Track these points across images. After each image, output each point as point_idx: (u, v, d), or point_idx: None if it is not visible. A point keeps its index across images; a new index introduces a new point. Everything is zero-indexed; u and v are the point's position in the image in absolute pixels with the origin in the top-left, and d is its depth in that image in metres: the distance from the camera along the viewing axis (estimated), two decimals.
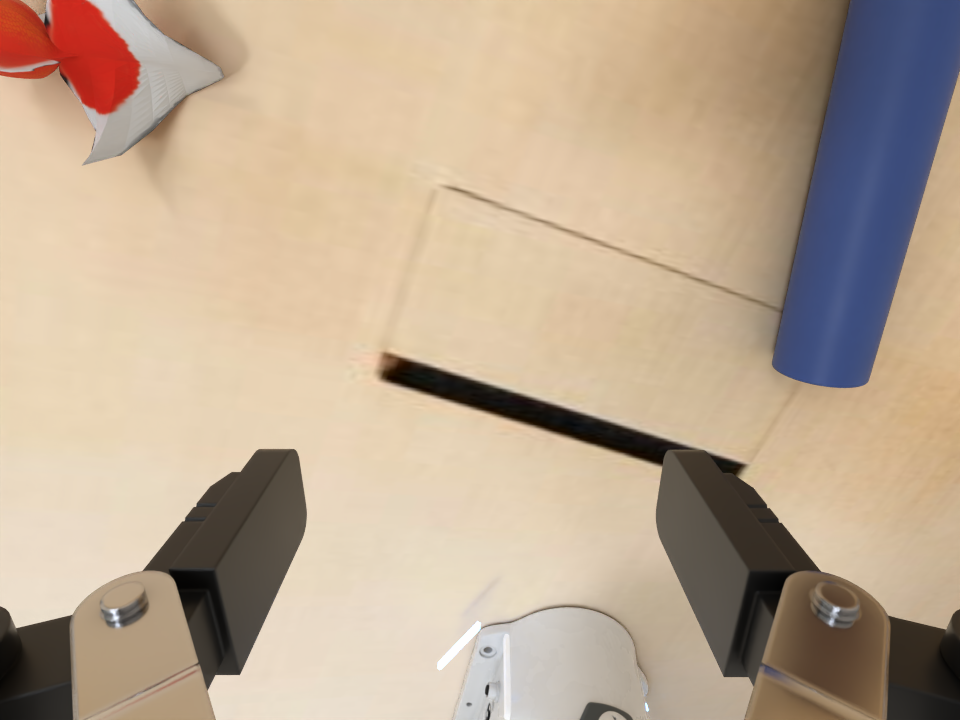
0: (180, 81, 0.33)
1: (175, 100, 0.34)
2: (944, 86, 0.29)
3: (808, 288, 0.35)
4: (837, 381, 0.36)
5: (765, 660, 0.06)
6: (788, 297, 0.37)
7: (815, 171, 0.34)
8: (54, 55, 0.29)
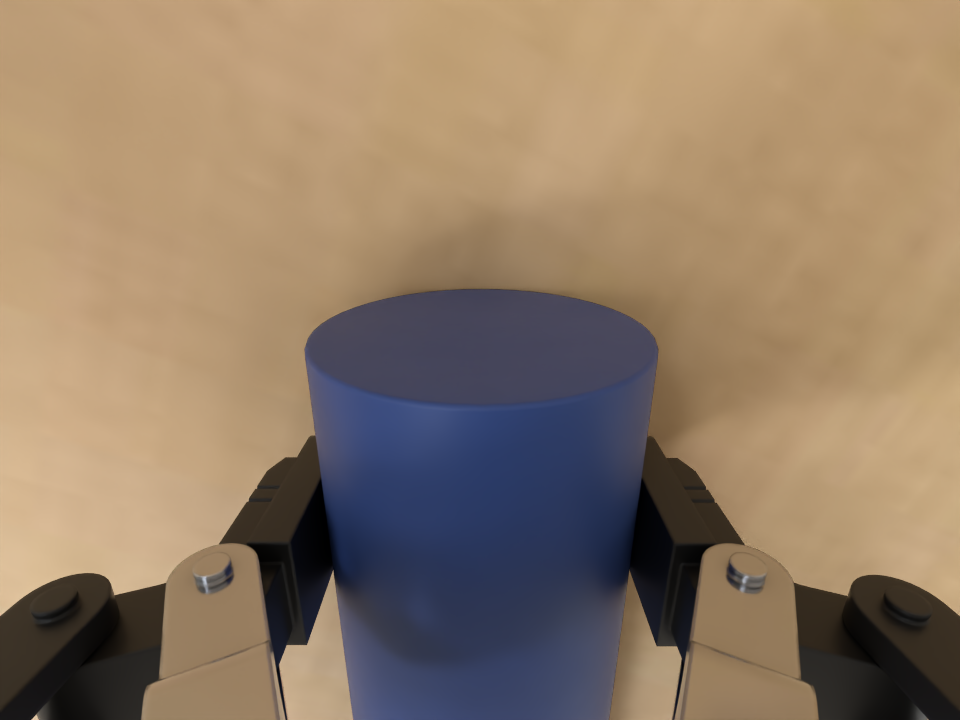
0: None
1: None
2: None
3: None
4: None
5: (693, 636, 0.07)
6: None
7: None
8: None
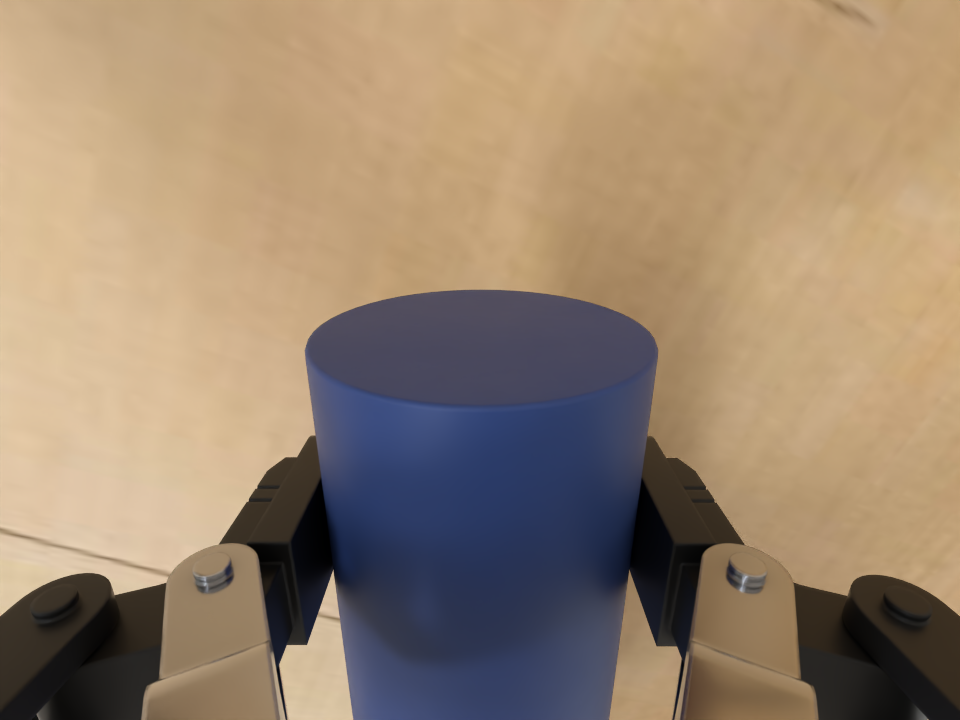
0: None
1: None
2: None
3: None
4: None
5: (693, 636, 0.07)
6: None
7: None
8: None
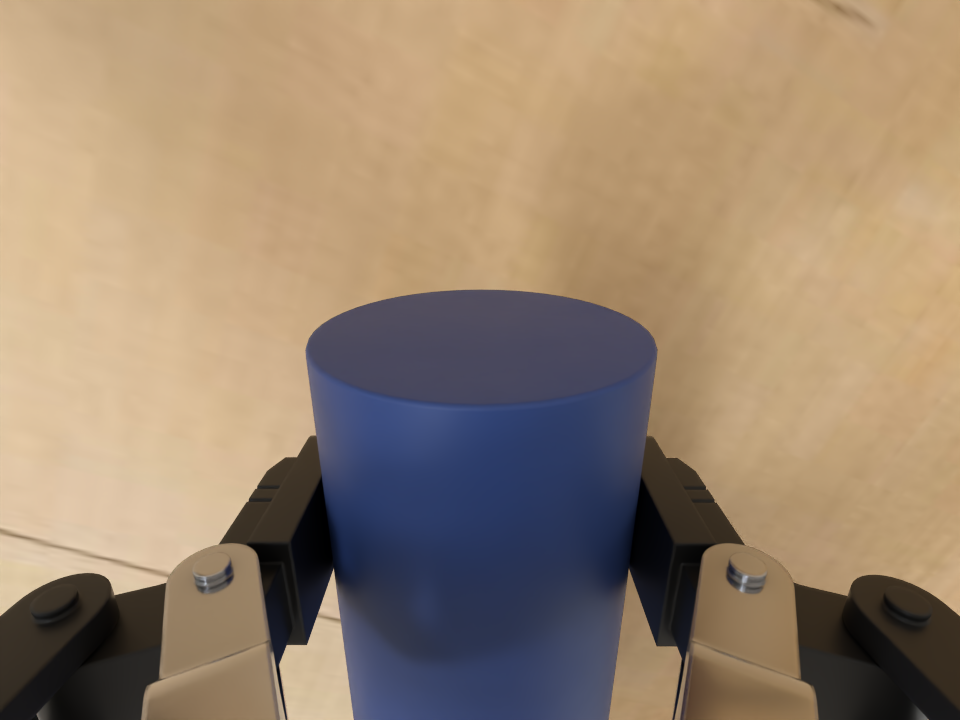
0: None
1: None
2: None
3: None
4: None
5: (693, 636, 0.07)
6: None
7: None
8: None
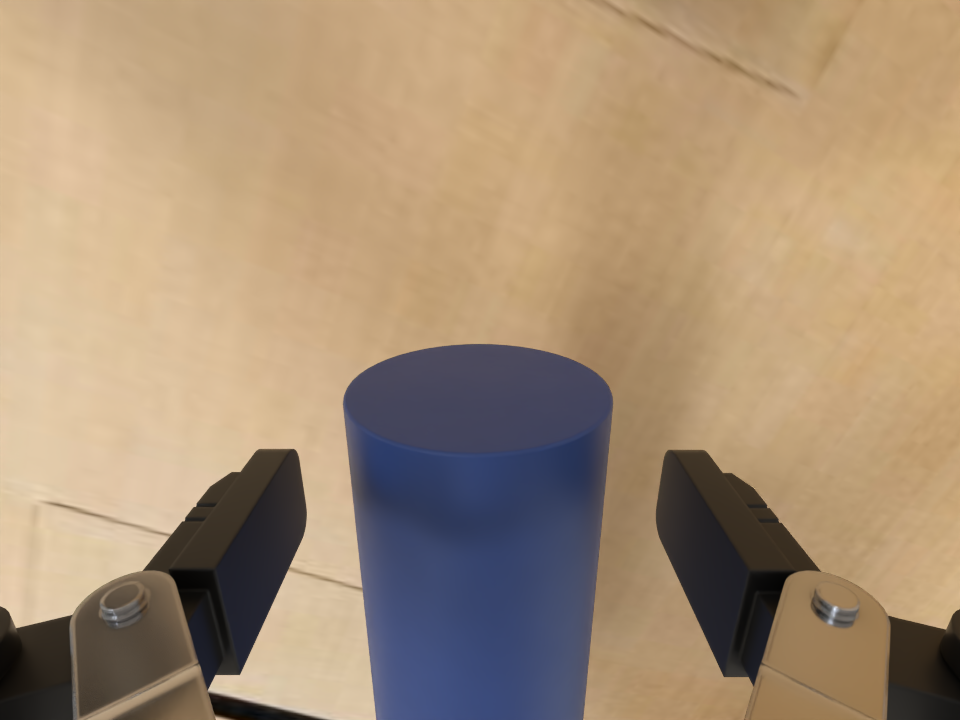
0: None
1: None
2: None
3: None
4: None
5: (765, 660, 0.06)
6: None
7: None
8: None
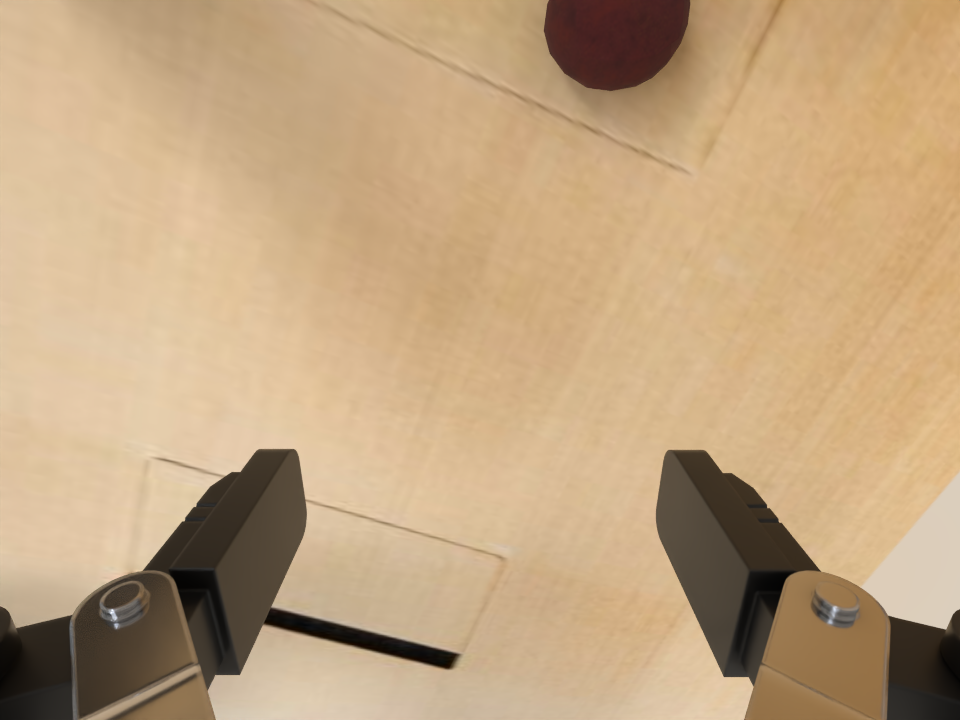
0: None
1: None
2: None
3: None
4: None
5: (765, 660, 0.06)
6: None
7: None
8: None
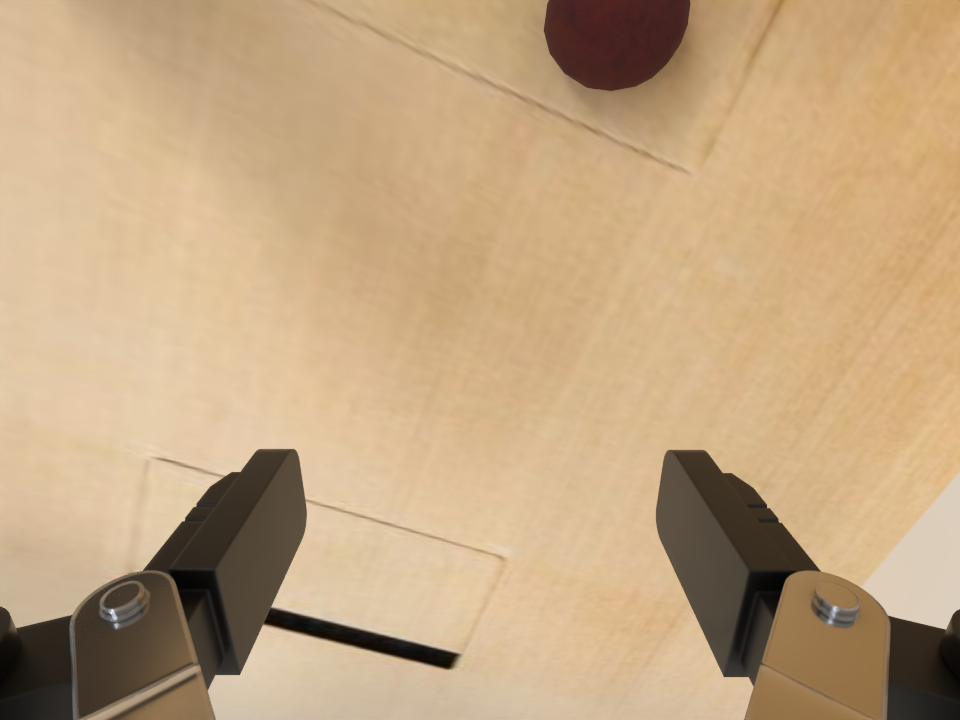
0: None
1: None
2: None
3: None
4: None
5: (765, 660, 0.06)
6: None
7: None
8: None
